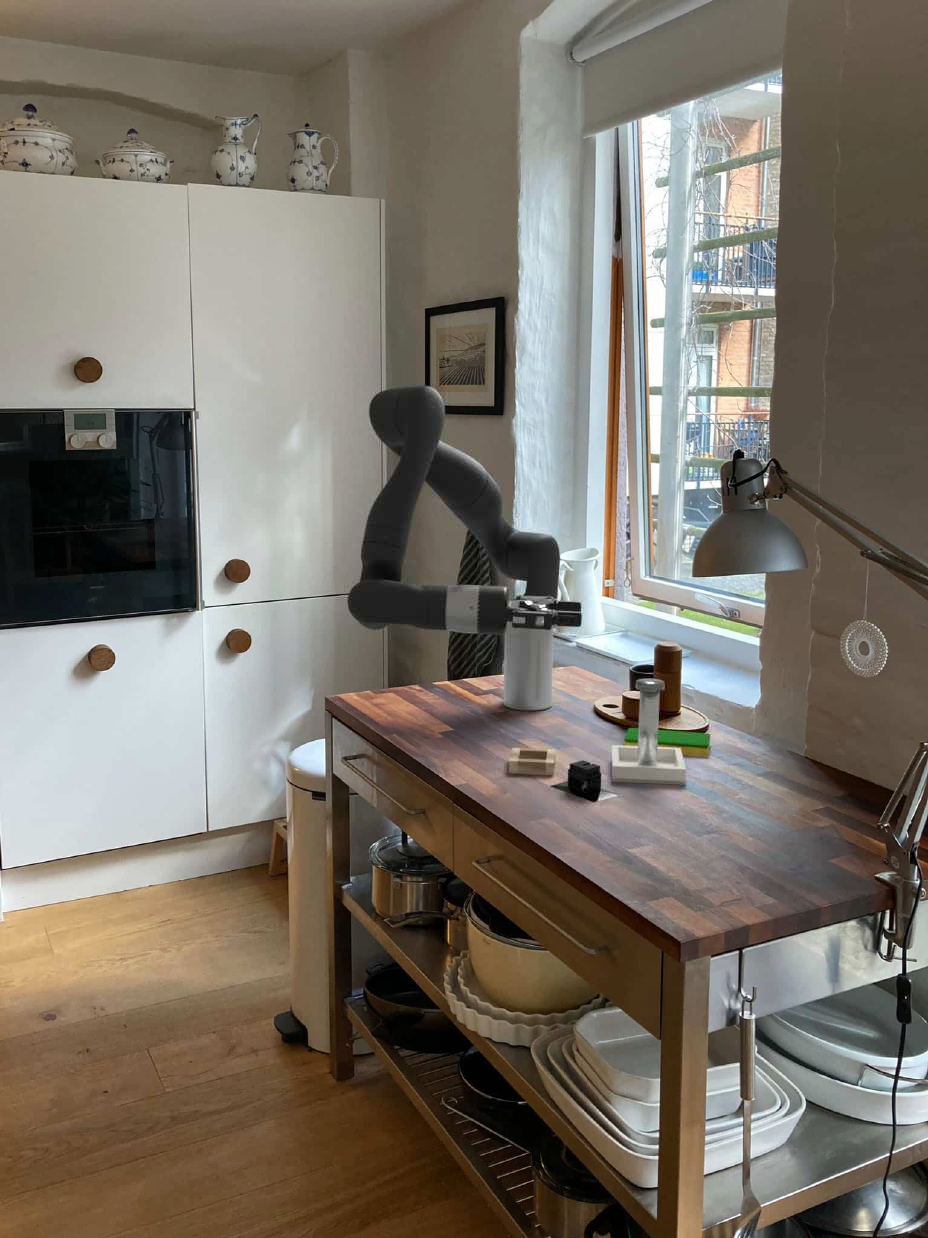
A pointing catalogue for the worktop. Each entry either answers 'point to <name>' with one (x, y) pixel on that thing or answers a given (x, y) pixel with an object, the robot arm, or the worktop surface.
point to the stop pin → (648, 720)
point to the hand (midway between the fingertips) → (581, 614)
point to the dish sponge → (675, 741)
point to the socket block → (532, 761)
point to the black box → (584, 782)
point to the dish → (664, 773)
